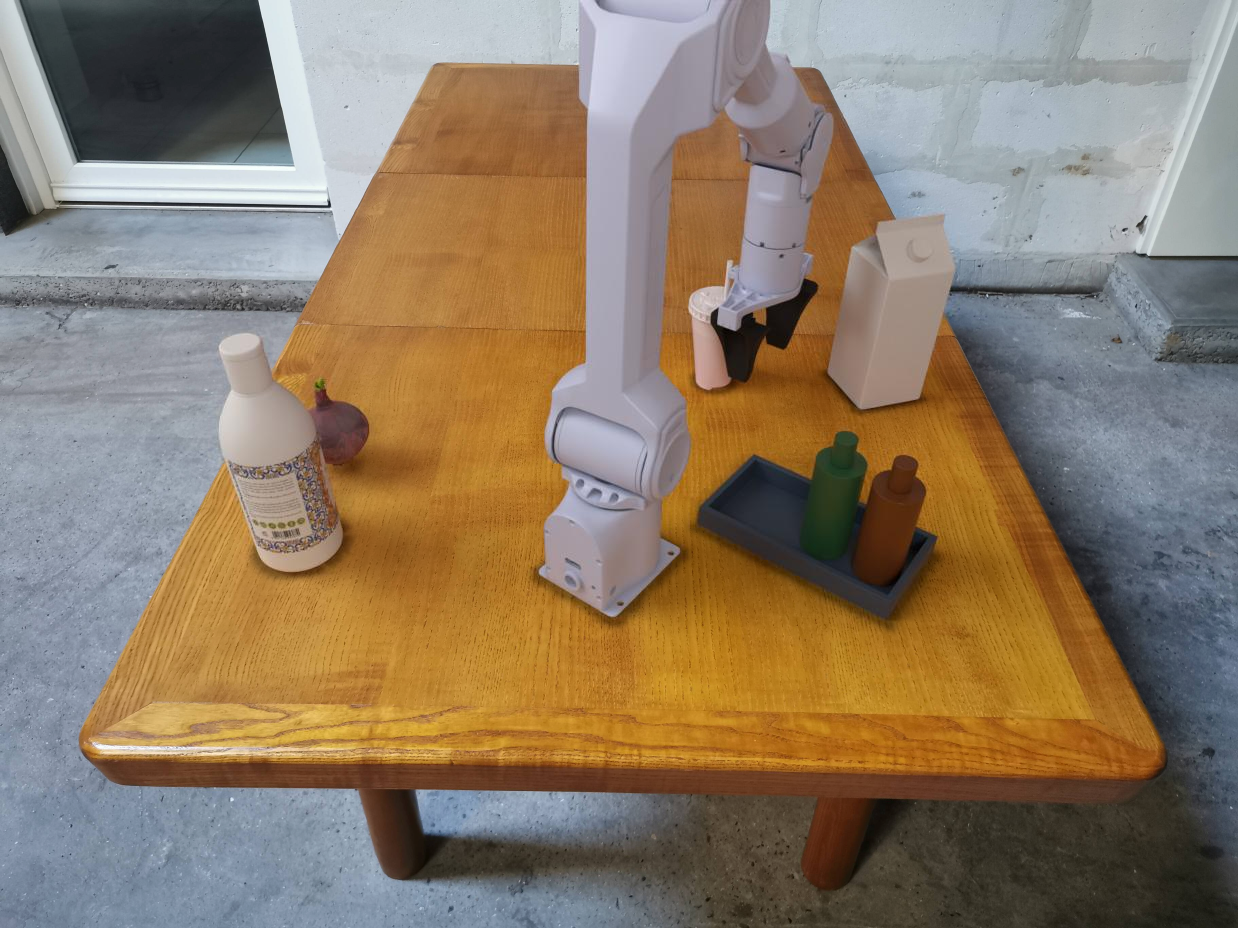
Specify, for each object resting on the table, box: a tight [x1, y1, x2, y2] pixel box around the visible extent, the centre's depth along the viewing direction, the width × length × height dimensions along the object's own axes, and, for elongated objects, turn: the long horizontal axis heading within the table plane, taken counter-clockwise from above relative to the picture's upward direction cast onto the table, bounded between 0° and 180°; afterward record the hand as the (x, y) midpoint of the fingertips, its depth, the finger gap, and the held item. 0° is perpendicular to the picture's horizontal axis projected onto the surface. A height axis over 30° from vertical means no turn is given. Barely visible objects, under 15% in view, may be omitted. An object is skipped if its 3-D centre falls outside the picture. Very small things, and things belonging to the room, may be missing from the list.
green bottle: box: [800, 430, 869, 560], centre depth 71 cm, size 4×4×11 cm
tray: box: [697, 453, 938, 621], centre depth 75 cm, size 9×18×2 cm, turn 53°
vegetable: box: [308, 377, 370, 468], centre depth 80 cm, size 6×6×10 cm
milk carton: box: [827, 212, 956, 410], centre depth 88 cm, size 7×7×19 cm
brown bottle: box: [851, 454, 927, 586], centre depth 69 cm, size 4×4×11 cm
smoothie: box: [687, 259, 734, 391], centre depth 90 cm, size 6×6×14 cm
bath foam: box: [218, 332, 344, 573], centre depth 68 cm, size 7×7×20 cm
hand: (757, 361), depth 89 cm, fingers open, 7 cm apart
